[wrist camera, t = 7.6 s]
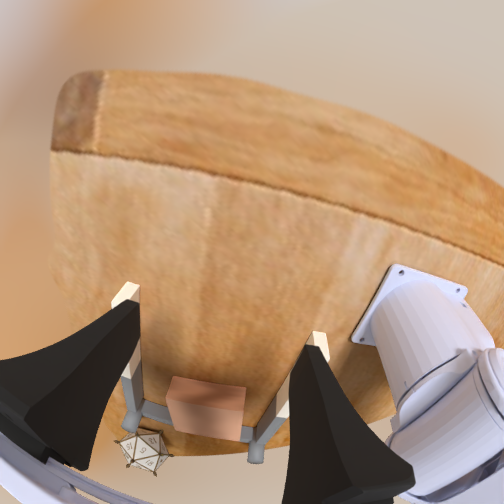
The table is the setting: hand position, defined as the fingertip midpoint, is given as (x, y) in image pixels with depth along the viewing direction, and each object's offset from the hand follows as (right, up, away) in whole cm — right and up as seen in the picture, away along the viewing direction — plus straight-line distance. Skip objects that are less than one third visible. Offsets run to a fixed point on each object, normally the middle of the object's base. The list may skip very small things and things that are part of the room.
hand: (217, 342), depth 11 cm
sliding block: (-3, -14, +18) cm, 23 cm away
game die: (-15, -25, +24) cm, 38 cm away
